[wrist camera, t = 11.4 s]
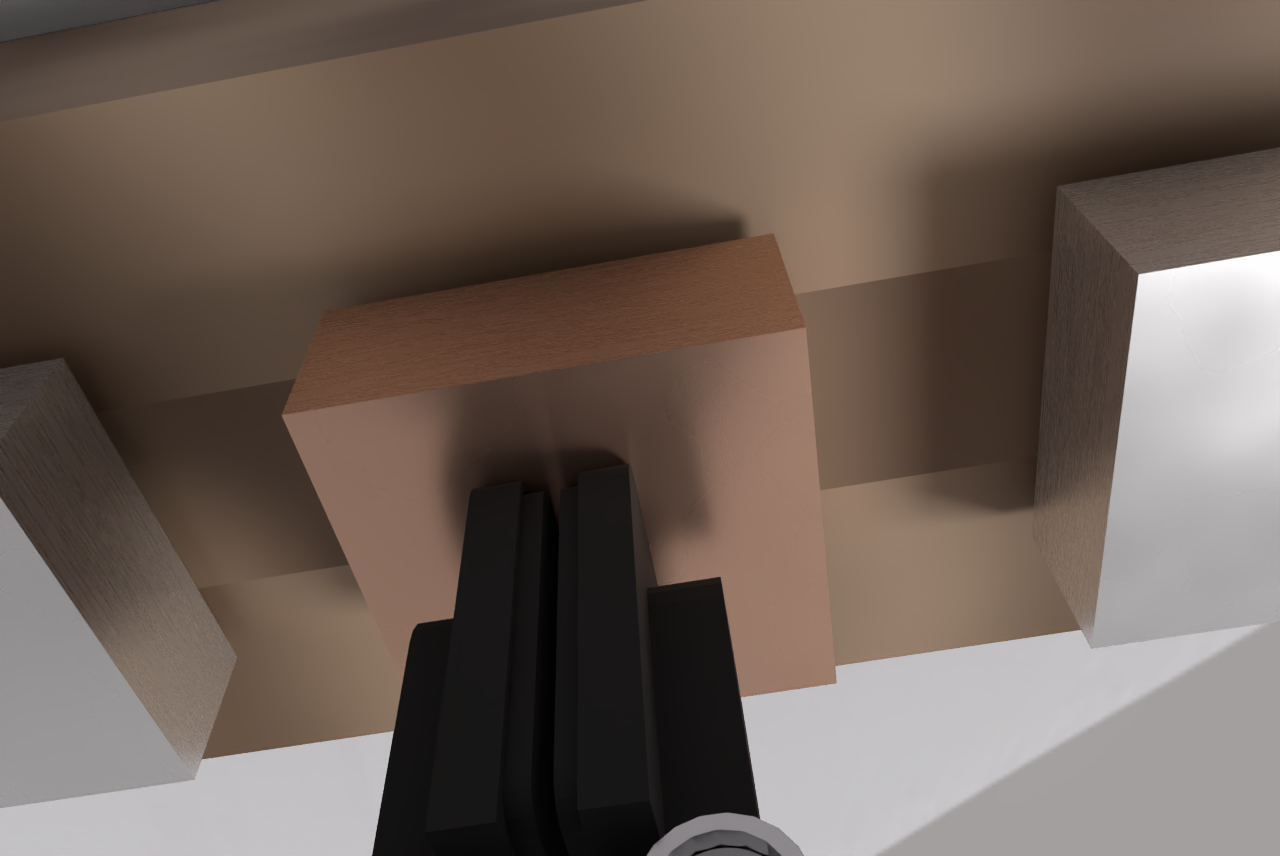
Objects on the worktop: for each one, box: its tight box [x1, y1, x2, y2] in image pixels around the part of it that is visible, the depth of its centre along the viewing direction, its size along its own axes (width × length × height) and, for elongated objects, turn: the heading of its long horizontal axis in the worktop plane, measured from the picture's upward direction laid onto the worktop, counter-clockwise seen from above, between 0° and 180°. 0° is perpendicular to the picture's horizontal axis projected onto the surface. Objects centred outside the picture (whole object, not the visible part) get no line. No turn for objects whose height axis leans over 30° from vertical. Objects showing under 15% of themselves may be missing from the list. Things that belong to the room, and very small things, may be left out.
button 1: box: [0, 358, 237, 808], centre depth 14 cm, size 5×5×6 cm
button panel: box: [0, 0, 1280, 759], centre depth 15 cm, size 25×10×4 cm, turn 100°
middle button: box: [282, 233, 837, 697], centre depth 14 cm, size 5×5×6 cm
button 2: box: [1032, 148, 1280, 649], centre depth 13 cm, size 5×5×6 cm
